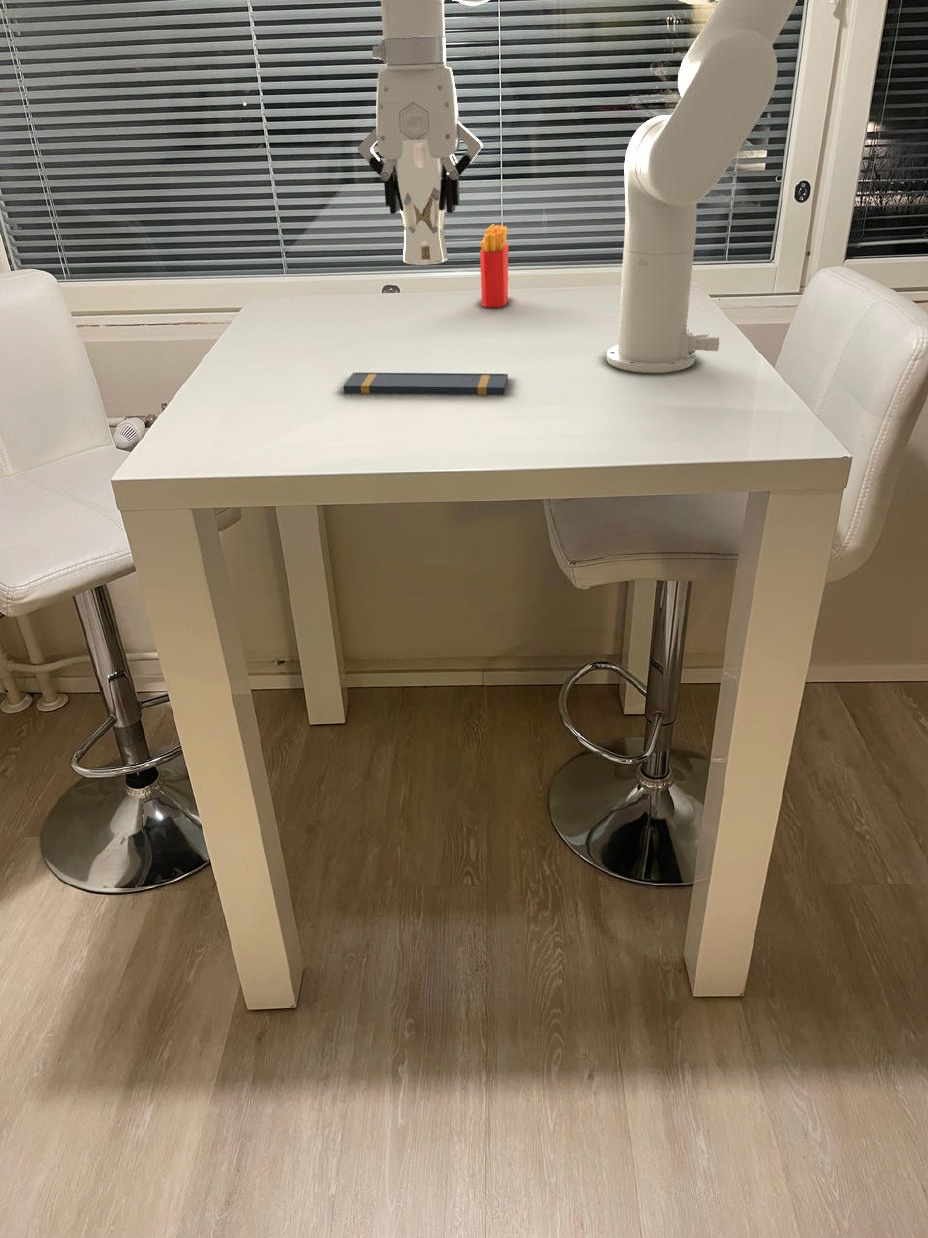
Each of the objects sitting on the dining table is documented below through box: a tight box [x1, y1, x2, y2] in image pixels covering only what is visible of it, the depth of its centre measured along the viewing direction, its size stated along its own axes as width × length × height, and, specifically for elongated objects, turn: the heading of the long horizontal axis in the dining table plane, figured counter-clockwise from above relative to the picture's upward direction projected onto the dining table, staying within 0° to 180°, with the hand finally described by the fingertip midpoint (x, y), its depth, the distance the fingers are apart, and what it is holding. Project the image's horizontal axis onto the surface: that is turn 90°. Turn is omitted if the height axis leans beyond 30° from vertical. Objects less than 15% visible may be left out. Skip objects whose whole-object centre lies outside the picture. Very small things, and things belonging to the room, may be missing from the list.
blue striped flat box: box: [343, 372, 509, 396], centre depth 130 cm, size 22×6×1 cm, turn 83°
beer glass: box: [394, 139, 449, 266], centre depth 124 cm, size 7×7×15 cm
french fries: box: [479, 223, 509, 308], centre depth 167 cm, size 9×4×13 cm, turn 168°
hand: (423, 210), depth 125 cm, fingers closed on beer glass, 6 cm apart
